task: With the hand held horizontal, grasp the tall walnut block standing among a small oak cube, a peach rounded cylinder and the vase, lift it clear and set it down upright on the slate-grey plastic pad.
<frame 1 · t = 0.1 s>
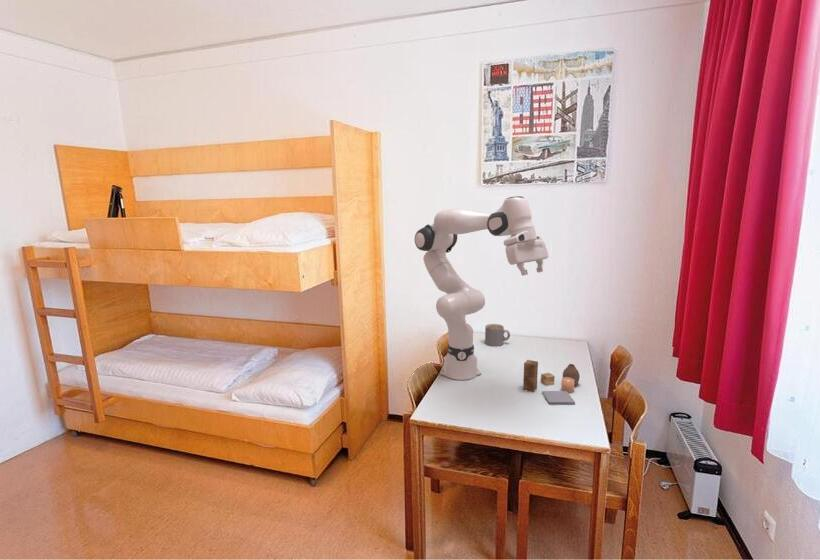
hand: (532, 273, 160), 52 cm above the table, tool tilted 20°, fingers open, 8 cm apart
walnut block: (530, 389, 182), on the table
oak cube: (547, 383, 188), on the table
grey pad: (558, 398, 173), on the table
peach rounded cylinder: (567, 390, 180), on the table
vase: (570, 384, 186), on the table
coffee mug: (497, 344, 239), on the table
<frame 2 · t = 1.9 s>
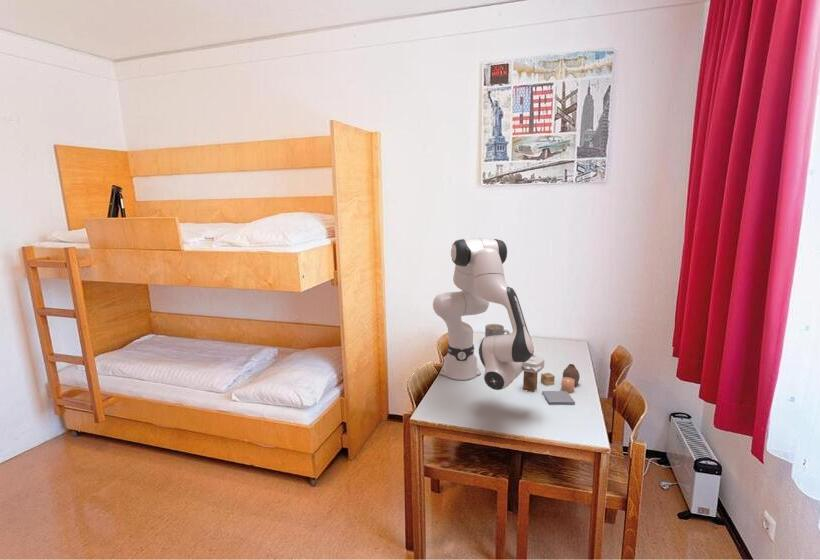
hand: (522, 354, 168), 19 cm above the table, tool horizontal, fingers open, 8 cm apart
nothing on the table moved.
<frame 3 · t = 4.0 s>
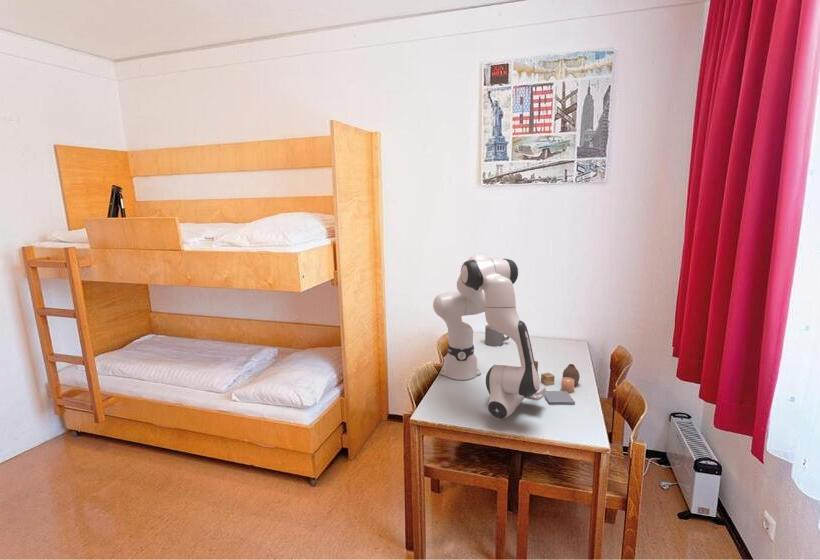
hand: (524, 380, 174), 7 cm above the table, tool horizontal, fingers open, 8 cm apart
nothing on the table moved.
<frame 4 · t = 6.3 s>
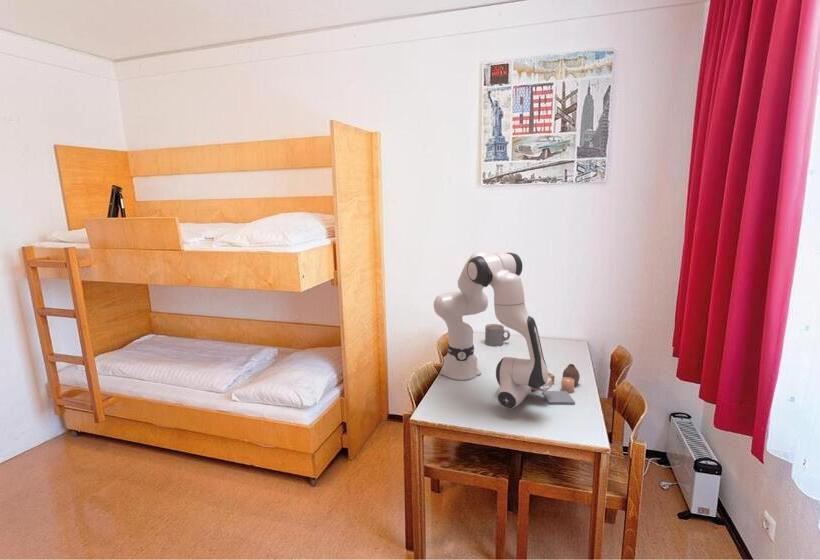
hand: (531, 372, 181), 7 cm above the table, tool horizontal, fingers closed on walnut block, 4 cm apart
walnut block: (530, 389, 182), on the table, touching gripper
everything else where it was.
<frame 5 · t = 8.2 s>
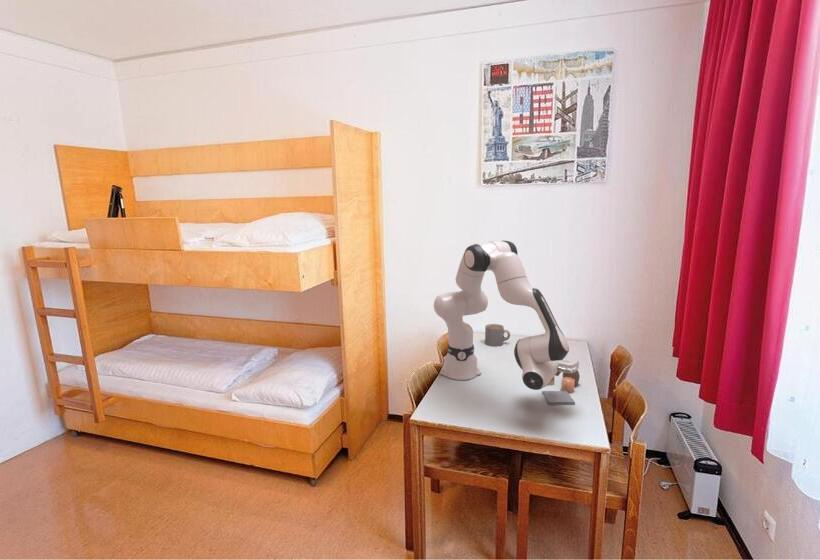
hand: (555, 355, 172), 17 cm above the table, tool horizontal, fingers closed on walnut block, 4 cm apart
walnut block: (553, 373, 172), point 10 cm above the table, touching gripper
everything else where it was.
when the fingers open (9 cm above the table, at t = 10.2 s): walnut block drops 1 cm, resting on grey pad.
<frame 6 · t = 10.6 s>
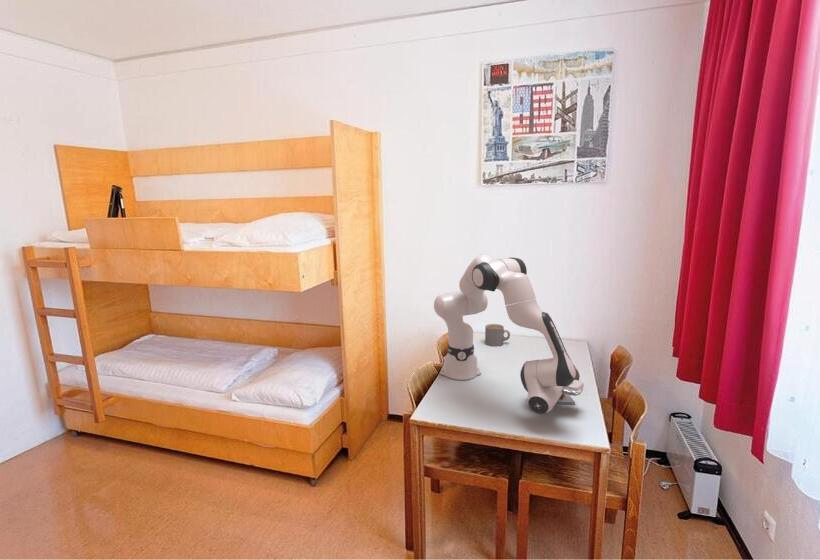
hand: (559, 375, 172), 9 cm above the table, tool horizontal, fingers open, 8 cm apart
walnut block: (558, 396, 173), point 1 cm above the table, touching grey pad
everything else where it was.
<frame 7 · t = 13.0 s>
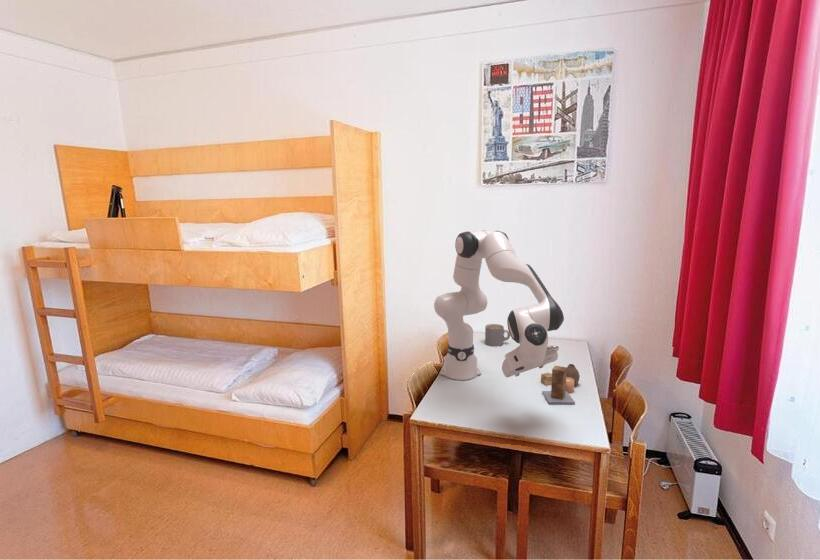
hand: (528, 370, 160), 17 cm above the table, tool tilted 45°, fingers open, 8 cm apart
nothing on the table moved.
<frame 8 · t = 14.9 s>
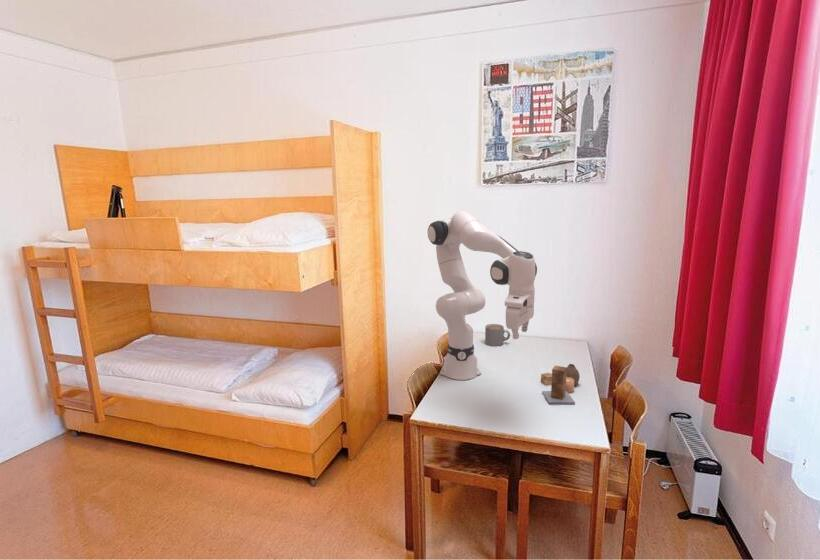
hand: (520, 334, 155), 31 cm above the table, tool pointing down, fingers open, 8 cm apart
nothing on the table moved.
at the end: walnut block inside the target area on the grey pad (0.1 cm from its centre), point 1.0 cm above the grey pad's base; walnut block tilted 0°; the gripper is holding nothing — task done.
